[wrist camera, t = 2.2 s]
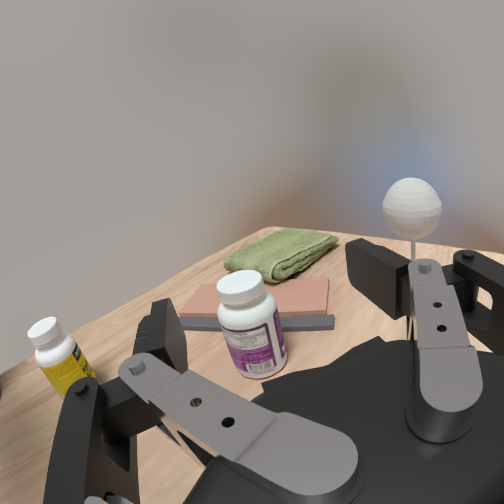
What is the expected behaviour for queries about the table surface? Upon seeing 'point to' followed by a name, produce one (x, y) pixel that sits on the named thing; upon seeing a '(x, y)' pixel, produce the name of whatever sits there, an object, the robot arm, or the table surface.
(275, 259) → the washcloth
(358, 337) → the table surface
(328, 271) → the table surface
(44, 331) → the supplement bottle
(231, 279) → the pill bottle
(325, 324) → the mat
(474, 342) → the table surface
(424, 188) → the lollipop
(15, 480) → the table surface
